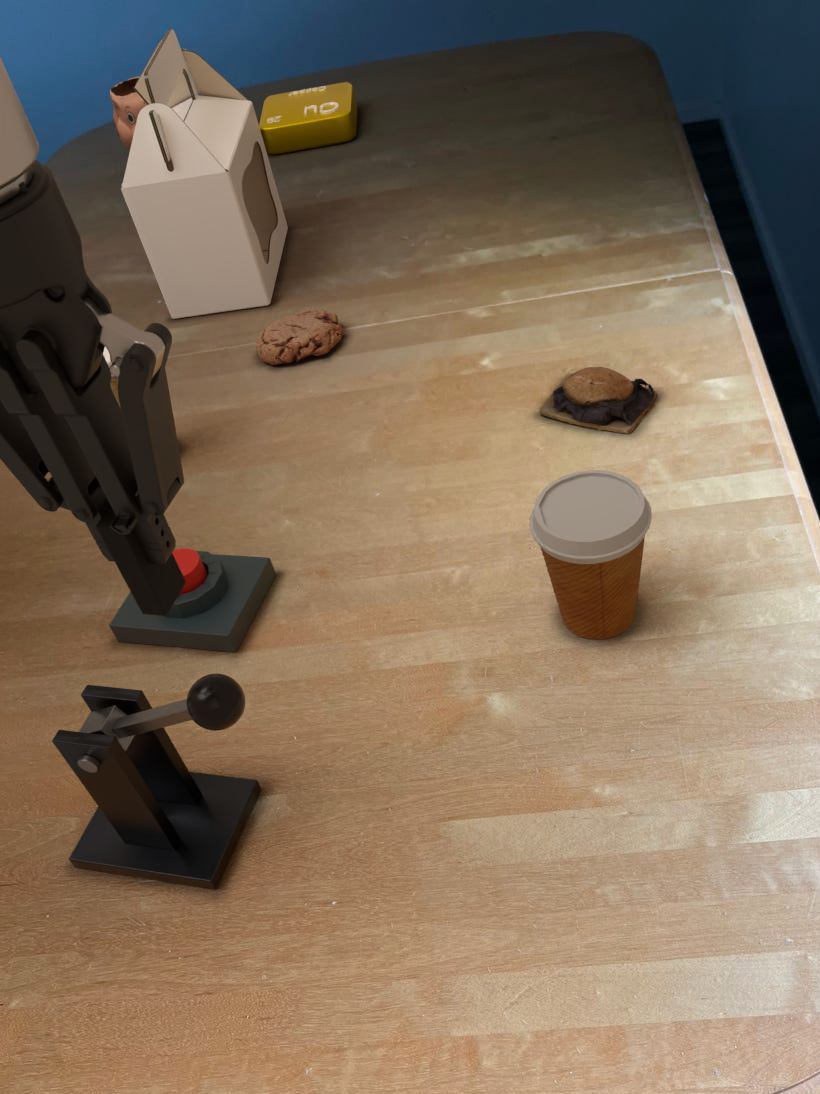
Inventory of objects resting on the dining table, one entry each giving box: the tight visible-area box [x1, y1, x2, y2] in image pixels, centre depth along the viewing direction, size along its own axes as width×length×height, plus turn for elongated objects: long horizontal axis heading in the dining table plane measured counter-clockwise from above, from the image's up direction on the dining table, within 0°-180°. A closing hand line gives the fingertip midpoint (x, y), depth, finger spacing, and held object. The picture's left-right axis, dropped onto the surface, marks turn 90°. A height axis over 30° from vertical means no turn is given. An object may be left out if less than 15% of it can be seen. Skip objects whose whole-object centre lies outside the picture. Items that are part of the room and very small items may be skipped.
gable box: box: [120, 28, 289, 320], centre depth 134 cm, size 22×13×28 cm, turn 1°
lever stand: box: [51, 684, 262, 890], centre depth 76 cm, size 12×9×14 cm
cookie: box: [256, 308, 344, 366], centre depth 127 cm, size 10×11×3 cm
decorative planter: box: [109, 75, 147, 151], centre depth 167 cm, size 20×12×14 cm, turn 12°
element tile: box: [258, 81, 358, 156], centre depth 173 cm, size 15×15×5 cm
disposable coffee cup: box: [528, 469, 653, 640], centre depth 86 cm, size 10×10×12 cm
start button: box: [172, 547, 207, 595], centre depth 95 cm, size 4×4×2 cm
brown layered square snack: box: [538, 366, 658, 435], centre depth 109 cm, size 11×8×4 cm
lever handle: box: [78, 673, 246, 751], centre depth 70 cm, size 14×4×4 cm, turn 76°
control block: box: [108, 550, 277, 653], centre depth 97 cm, size 12×10×4 cm
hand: (164, 597), depth 60 cm, fingers closed
